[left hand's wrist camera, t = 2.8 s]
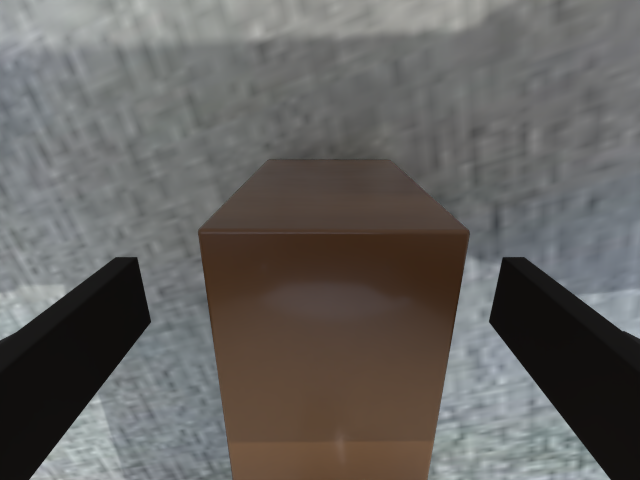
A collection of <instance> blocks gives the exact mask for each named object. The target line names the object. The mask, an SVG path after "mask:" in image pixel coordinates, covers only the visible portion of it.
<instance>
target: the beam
mask: <svg viewBox="0 0 640 480" xmlns="http://www.w3.org/2000/svg"><path fill="white" fill-rule="evenodd" d="M198 236H199V243H200V250H201V257H202V264H203V271H204V278H205V285H206V292H207V300H208V307H209V314H210V321H211V328H212V335H213V342H214V349H215V356H216V364H217V371H218V378H219V385H220V392H221V399H222V406H223V413H224V420H225V428H226V435H227V442H228V449H229V456H230V463H231V470H232V477H233V480H427V479H428V473H429V467H430V461H431V455H432V450H433V444H434V438H435V432H436V427H437V421H438V415H439V409H440V403H441V398H442V392H443V386H444V380H445V374H446V369H447V363H448V357H449V351H450V346H451V340H452V334H453V328H454V322H455V317H456V311H457V305H458V299H459V293H460V288H461V282H462V276H463V270H464V265H465V259H466V253H467V247H468V241H469V236H470V232H469V230H468V229H467V228H466V227H465V226H463V225H462V224H461V223H460V222H459V221H458V220H457V219H456V218H455V217H453V216H452V215H451V214H450V213H449V212H448V211H447V210H446V209H444V208H443V207H442V206H441V205H440V204H439V203H438V202H437V201H435V200H434V199H433V198H432V197H431V196H430V195H429V194H428V193H427V192H425V191H424V190H423V189H422V188H421V187H420V186H419V185H418V184H416V183H415V182H414V181H413V180H412V179H411V178H410V177H409V176H407V175H406V174H405V173H404V172H403V171H402V170H401V169H400V168H399V167H397V166H396V165H395V164H394V163H393V162H392V161H391V160H267V161H266V162H265V163H264V164H263V165H262V166H261V167H260V168H259V169H258V170H257V171H256V172H255V173H254V174H253V175H252V176H251V177H250V178H249V179H248V180H247V181H246V182H245V183H244V184H243V185H242V186H241V187H240V188H239V189H238V190H237V191H236V192H235V193H234V194H233V195H232V196H231V197H230V198H229V199H228V200H227V201H226V202H225V203H224V204H223V205H222V206H221V207H220V208H219V209H218V210H217V211H216V212H215V213H214V214H213V215H212V216H211V217H210V218H209V219H208V220H207V221H206V222H205V223H204V224H203V225H202V226H201V227H200V228H199V230H198Z"/></svg>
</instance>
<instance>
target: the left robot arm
mask: <svg viewBox="0 0 640 480" xmlns="http://www.w3.org/2000/svg"><path fill="white" fill-rule="evenodd" d="M150 323H151V319H150V315H149V310H148V305H147V301H146V296H145V291H144V287H143V282H142V278H141V273H140V268H139V264H138V259H137V257H116V258H114V259H113V260H112V261H110V262H109V263H108V264H106V265H105V266H104V267H102V268H101V269H100V270H98V271H97V272H96V273H94V274H93V275H92V276H90V277H89V278H88V279H86V280H85V281H84V282H82V283H81V284H80V285H78V286H77V287H76V288H74V289H73V290H72V291H70V292H69V293H68V294H66V295H65V296H64V297H62V298H61V299H60V300H58V301H57V302H56V303H55V304H53V305H52V306H51V307H49V308H48V309H47V310H45V311H44V312H43V313H41V314H40V315H39V316H37V317H36V318H35V319H33V320H32V321H31V322H29V323H28V324H27V325H25V326H24V327H23V328H21V329H20V330H19V331H17V332H16V333H14V334H12V335H10V336H8V337H6V338H4V339H2V340H0V480H29V479H30V478H31V477H32V475H33V474H34V473H35V472H36V470H37V469H38V468H39V466H40V465H41V464H42V462H43V461H44V460H45V459H46V457H47V456H48V455H49V453H50V452H51V451H52V449H53V448H54V447H55V446H56V444H57V443H58V442H59V440H60V439H61V438H62V437H63V435H64V434H65V433H66V431H67V430H68V429H69V427H70V426H71V425H72V424H73V422H74V421H75V420H76V418H77V417H78V416H79V415H80V413H81V412H82V411H83V409H84V408H85V407H86V405H87V404H88V403H89V402H90V400H91V399H92V398H93V396H94V395H95V394H96V393H97V391H98V390H99V389H100V387H101V386H102V385H103V383H104V382H105V381H106V380H107V378H108V377H109V376H110V374H111V373H112V372H113V371H114V369H115V368H116V367H117V365H118V364H119V363H120V361H121V360H122V359H123V358H124V356H125V355H126V354H127V352H128V351H129V350H130V349H131V347H132V346H133V345H134V343H135V342H136V341H137V339H138V338H139V337H140V336H141V334H142V333H143V332H144V330H145V329H146V328H147V327H148V325H149V324H150ZM489 323H490V324H491V325H492V327H493V328H494V329H495V330H496V332H497V333H498V334H499V336H500V337H501V338H502V339H503V341H504V342H505V343H506V345H507V346H508V347H509V349H510V350H511V351H512V352H513V354H514V355H515V356H516V358H517V359H518V360H519V361H520V363H521V364H522V365H523V367H524V368H525V369H526V371H527V372H528V373H529V374H530V376H531V377H532V378H533V380H534V381H535V382H536V383H537V385H538V386H539V387H540V389H541V390H542V391H543V393H544V394H545V395H546V396H547V398H548V399H549V400H550V402H551V403H552V404H553V405H554V407H555V408H556V409H557V411H558V412H559V413H560V415H561V416H562V417H563V418H564V420H565V421H566V422H567V424H568V425H569V426H570V427H571V429H572V430H573V431H574V433H575V434H576V435H577V437H578V438H579V439H580V440H581V442H582V443H583V444H584V446H585V447H586V448H587V449H588V451H589V452H590V453H591V455H592V456H593V457H594V459H595V460H596V461H597V462H598V464H599V465H600V466H601V468H602V469H603V470H604V472H605V473H606V474H607V475H608V477H609V478H610V479H611V480H640V339H639V338H637V337H635V336H633V335H631V334H629V333H627V332H625V331H621V330H620V329H619V328H617V327H616V326H615V325H613V324H612V323H611V322H609V321H608V320H607V319H605V318H604V317H603V316H601V315H600V314H599V313H597V312H596V311H595V310H593V309H592V308H591V307H589V306H588V305H587V304H585V303H584V302H583V301H582V300H580V299H579V298H578V297H576V296H575V295H574V294H572V293H571V292H570V291H568V290H567V289H566V288H564V287H563V286H562V285H560V284H559V283H558V282H556V281H555V280H554V279H552V278H551V277H550V276H548V275H547V274H546V273H544V272H543V271H542V270H540V269H539V268H538V267H536V266H535V265H534V264H532V263H531V262H530V261H528V260H527V259H526V258H524V257H503V259H502V264H501V268H500V273H499V278H498V282H497V287H496V291H495V296H494V301H493V305H492V310H491V315H490V319H489Z"/></svg>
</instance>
